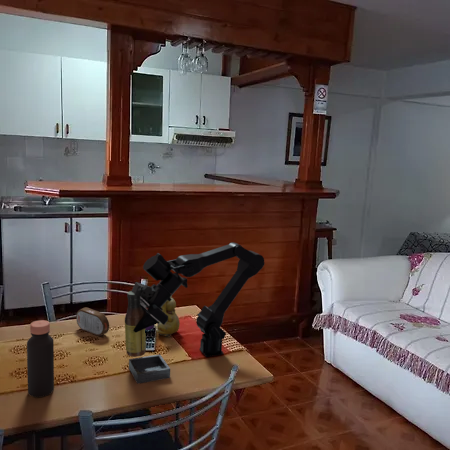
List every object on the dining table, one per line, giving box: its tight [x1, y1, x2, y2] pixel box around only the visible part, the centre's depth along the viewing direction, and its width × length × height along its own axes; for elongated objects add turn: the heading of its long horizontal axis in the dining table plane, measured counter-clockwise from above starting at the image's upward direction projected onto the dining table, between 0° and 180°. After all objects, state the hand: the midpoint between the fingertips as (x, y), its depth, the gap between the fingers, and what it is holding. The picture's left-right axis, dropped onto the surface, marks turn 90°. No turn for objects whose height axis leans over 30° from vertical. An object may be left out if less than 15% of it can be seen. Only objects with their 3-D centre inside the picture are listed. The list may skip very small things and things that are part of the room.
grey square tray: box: [128, 354, 171, 384], centre depth 144 cm, size 10×10×3 cm
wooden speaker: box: [75, 306, 110, 337], centre depth 170 cm, size 15×3×8 cm, turn 58°
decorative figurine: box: [156, 295, 181, 337], centre depth 173 cm, size 10×8×15 cm
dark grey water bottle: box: [26, 319, 55, 398], centre depth 129 cm, size 7×7×20 cm
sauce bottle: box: [124, 290, 147, 358], centre depth 145 cm, size 7×6×20 cm
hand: (131, 327), depth 144 cm, fingers closed on sauce bottle, 6 cm apart
